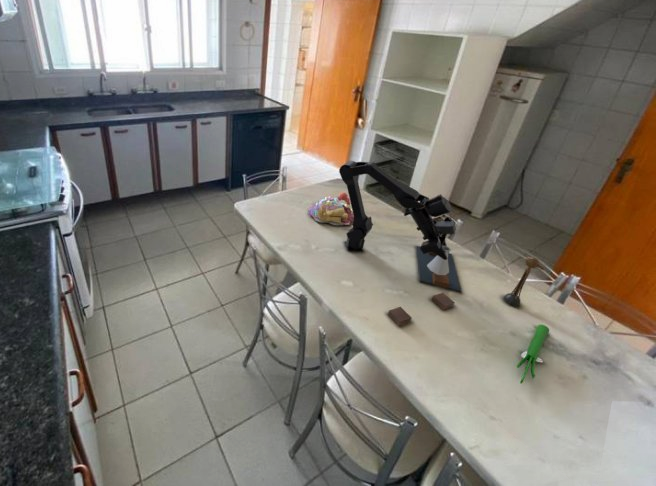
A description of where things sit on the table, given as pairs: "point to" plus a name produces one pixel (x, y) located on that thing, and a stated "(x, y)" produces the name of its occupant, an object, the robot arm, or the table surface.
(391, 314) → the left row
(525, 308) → the table surface
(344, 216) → the multicoloured lumpy mound
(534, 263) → the wooden tabletop sculpture
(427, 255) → the right mat
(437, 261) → the flask
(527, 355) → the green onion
